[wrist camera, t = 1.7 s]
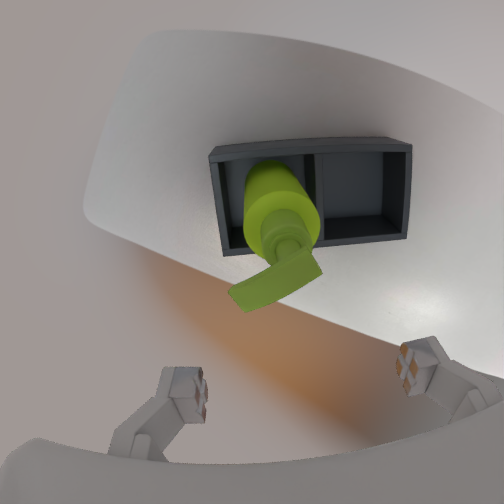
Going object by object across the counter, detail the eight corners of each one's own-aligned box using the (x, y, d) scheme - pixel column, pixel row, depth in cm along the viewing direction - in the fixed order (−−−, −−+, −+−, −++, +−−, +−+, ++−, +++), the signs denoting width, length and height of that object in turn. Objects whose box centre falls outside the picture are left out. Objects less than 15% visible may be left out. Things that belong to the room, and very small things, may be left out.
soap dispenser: (227, 182, 35) (205, 271, 17) (278, 150, 33) (316, 206, 15) (255, 222, 37) (262, 338, 19) (305, 192, 36) (360, 286, 18)
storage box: (215, 146, 34) (208, 155, 28) (387, 136, 33) (412, 144, 27) (226, 232, 38) (223, 256, 32) (385, 218, 38) (406, 239, 32)
